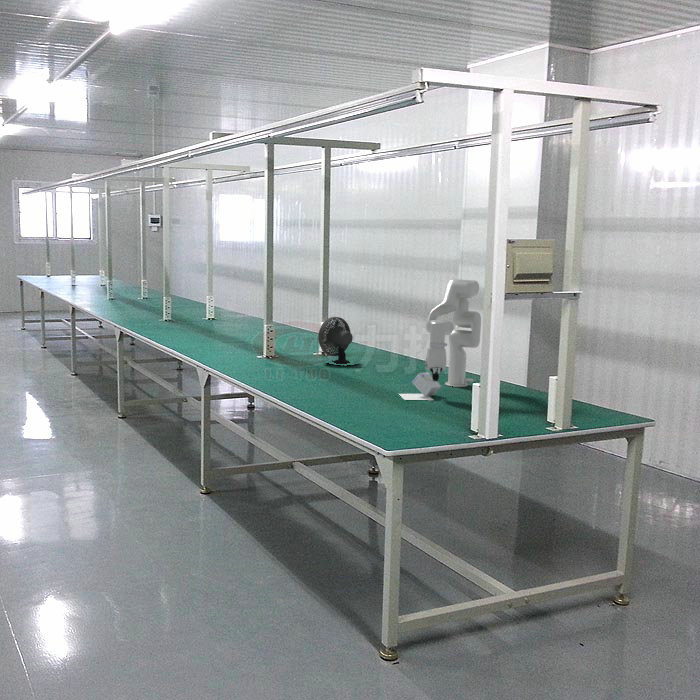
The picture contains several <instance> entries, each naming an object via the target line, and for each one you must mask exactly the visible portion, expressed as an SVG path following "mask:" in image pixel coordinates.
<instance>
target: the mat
mask: <svg viewBox="0 0 700 700" xmlns="http://www.w3.org/2000/svg"><path fill="white" fill-rule="evenodd" d="M398 394H399V395H400V396H401V397H400V396H399V395H398V396H399V397H400V398H402V399H403V400H404V401H405V400H428V401H434V399H433V398H432V397H431V396H426V397H425V396H424V395H423V394H422V393H398Z"/></svg>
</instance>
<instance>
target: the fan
mask: <svg viewBox="0 0 700 700" xmlns="http://www.w3.org/2000/svg"><path fill="white" fill-rule="evenodd" d="M353 337H354V336H353V334H352V333H351V328H350V326H349V323H348V322H347V321H346V320H345V319H343V318H342V317H339V316H332V317H329V318H327V319H326V320H324V321H323V323H322V324H321V325H320V328H319V331H318V338H317V339H318V343H319V348H320V349H321V350H322V352H323V353H324V354H326V355H327V356H332V357H337V356H338V359H334V360H335V361H333V360H331V361H332V362H334V363H336V364H347V363H350V362H349V361H350V360H348V359H347V356H346V355H347V353H346V350H347V349H348V347H349V345H350V344H352V342H353Z"/></svg>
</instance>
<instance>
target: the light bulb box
mask: <svg viewBox="0 0 700 700" xmlns="http://www.w3.org/2000/svg"><path fill="white" fill-rule="evenodd" d="M411 383H412V384H413V385H414V386H415V387H416V389H417V390H419V392H420V394H423V395H424V396H425V397H426V396H429V397H431V396H435V395H436V394H437V392H438V391H439V390H440V389H441V387H442V385H441V384H440V383H439V382H438V381H433V379H432V374H431V373H430V372H429V371H428V372H420V373H419V372H418V374H417V376H415V377H414V378H413V380H412V381H411Z"/></svg>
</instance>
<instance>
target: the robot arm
mask: <svg viewBox="0 0 700 700" xmlns="http://www.w3.org/2000/svg"><path fill="white" fill-rule="evenodd" d="M445 287H446V288H445V290H444V294H443V297H442V300H441V303H440V304H438V305H437V306H435V307H434V308H433V309H432V310H431V311H430V312H429V314H428V317H427V320H426V323H425V325H426V326H425V329H426V333H428V334H429V347H428V348H427V351H426V357H425V370H428V371H430V372H431V373H432V374H431V376H432V379H433V381H437V382H438V381H439V375H440V374H441V372H442V371H446V370H447V352H446V348H445V347H447V346H448V345H449V347H448V348H449V349H448V351H449V353H448V355H449V356H448V357H449V358H448V361H449V362H448V375H447V381H445V383H444V384H445V386H448V387H452V386H453V387H454V388H465V387H468V383H474V378H467V377H466V371H467V370H466V368H467V367H466V366H467V353H466V351H465V350H464V348H470V349H471V348H472V349H475V348H478V347H479V346H480V343H481V329H482V316H481V314H480V312H478V311H473V310H469V307H470V306H469V305H470V302H469V299H472V298H474V297H476V296H477V295H478V294H479V291H480V284H479V281H477V280H474V279H473V280H472V279H460V278H459V279H457V278H456V279H450V280H449V281H448V283H447V284H446V286H445ZM450 313H452V321H450V320H446V319H445V320H443V319H438V318H439V317H441V316H444V315H448V314H450ZM455 327H456V328H463V329H454V328H455ZM464 328H465V329H464ZM466 329H467V330H466ZM468 329H470V330H468ZM446 336H448V344H447V343H445V339H446Z"/></svg>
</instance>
